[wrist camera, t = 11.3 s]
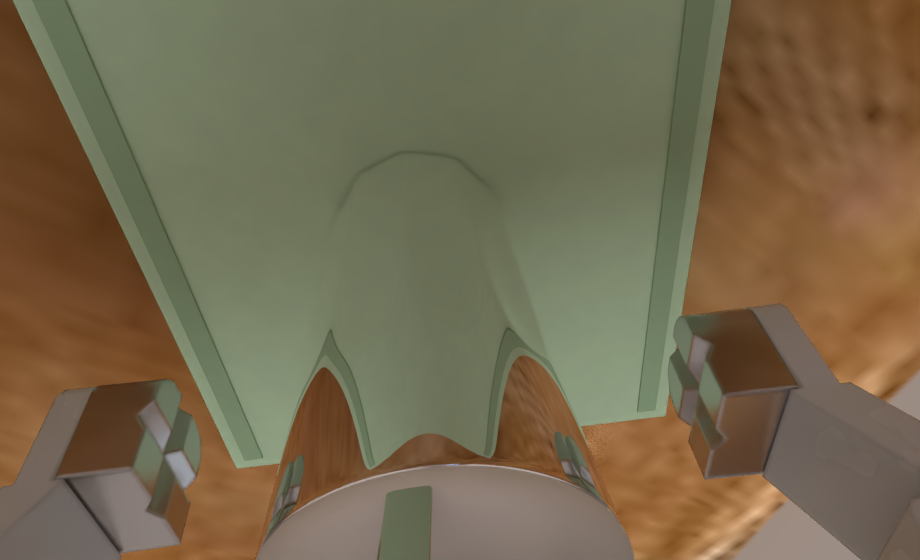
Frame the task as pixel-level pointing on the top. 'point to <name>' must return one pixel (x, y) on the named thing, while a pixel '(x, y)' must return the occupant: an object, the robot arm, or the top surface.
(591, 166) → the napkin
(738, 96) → the top surface
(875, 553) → the robot arm
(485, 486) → the milkshake
